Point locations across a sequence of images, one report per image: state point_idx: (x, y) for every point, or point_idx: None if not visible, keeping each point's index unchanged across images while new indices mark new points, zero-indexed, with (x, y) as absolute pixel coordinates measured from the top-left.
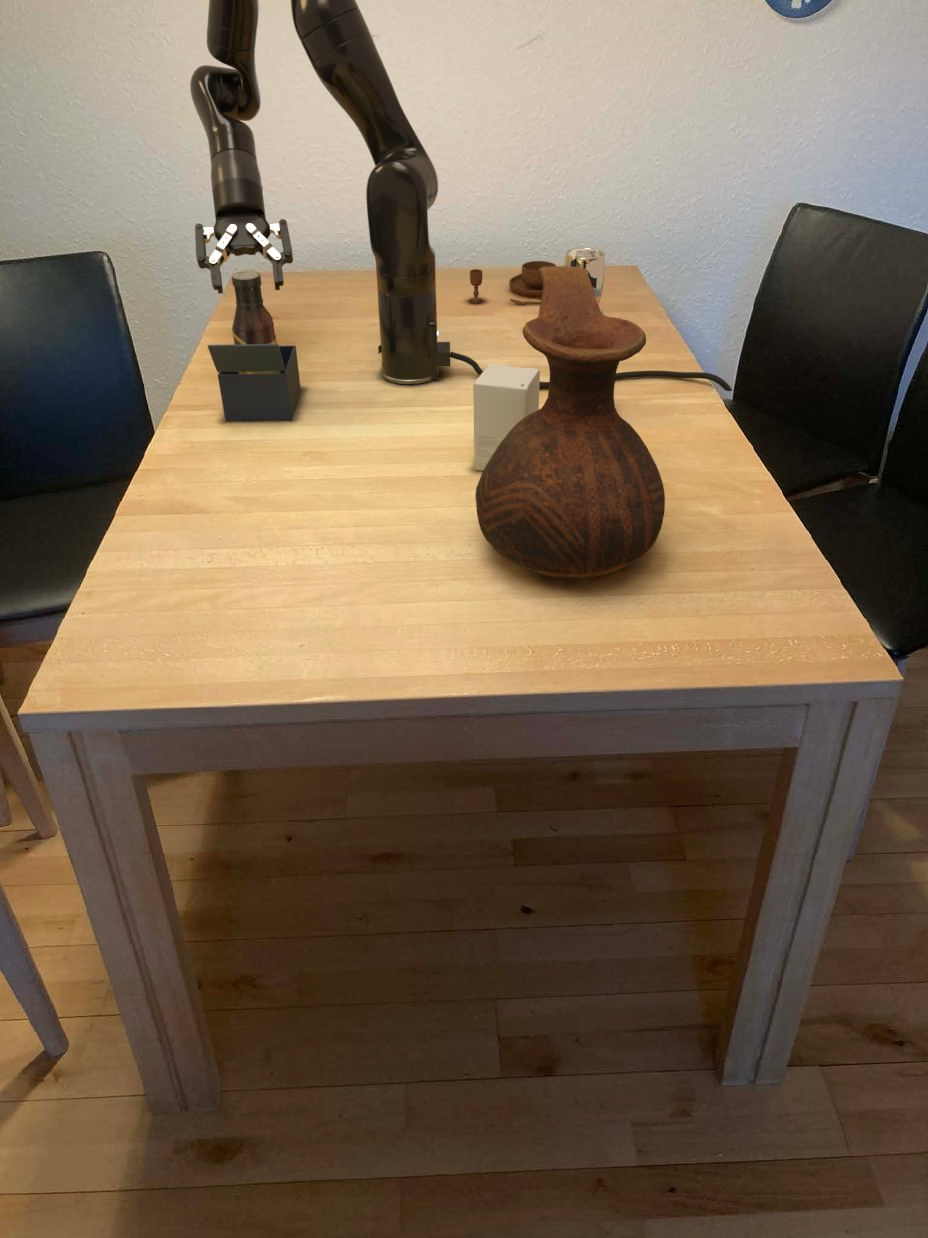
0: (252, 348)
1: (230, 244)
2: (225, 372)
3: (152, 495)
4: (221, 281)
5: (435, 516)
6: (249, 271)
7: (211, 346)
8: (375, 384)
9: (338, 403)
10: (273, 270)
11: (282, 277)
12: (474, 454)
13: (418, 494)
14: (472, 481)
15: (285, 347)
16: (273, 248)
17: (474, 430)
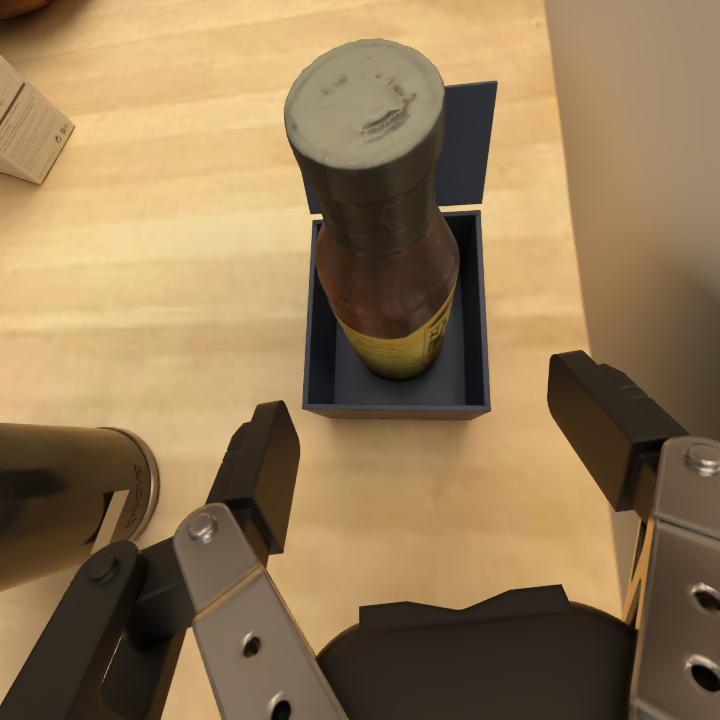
0: None
1: (613, 627)
2: (475, 278)
3: (520, 27)
4: (575, 426)
5: (142, 23)
6: (346, 143)
7: (484, 82)
8: (177, 438)
9: (252, 346)
10: (264, 446)
11: (235, 436)
12: (53, 105)
13: (154, 65)
14: (84, 99)
15: (331, 404)
16: (198, 589)
17: (15, 69)
